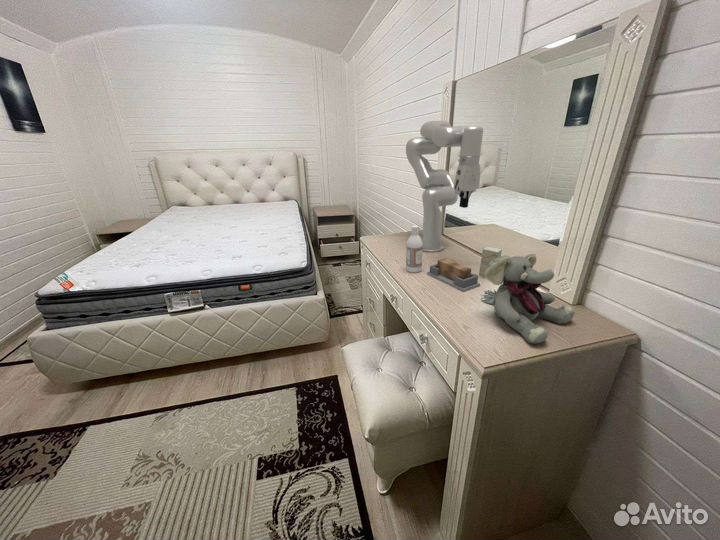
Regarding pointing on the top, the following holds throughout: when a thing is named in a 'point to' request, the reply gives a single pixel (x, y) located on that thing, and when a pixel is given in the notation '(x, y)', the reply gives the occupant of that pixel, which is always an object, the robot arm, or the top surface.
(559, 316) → the plush elephant
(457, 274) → the slat
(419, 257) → the bath foam
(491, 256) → the skincare box
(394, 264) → the top surface
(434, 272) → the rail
